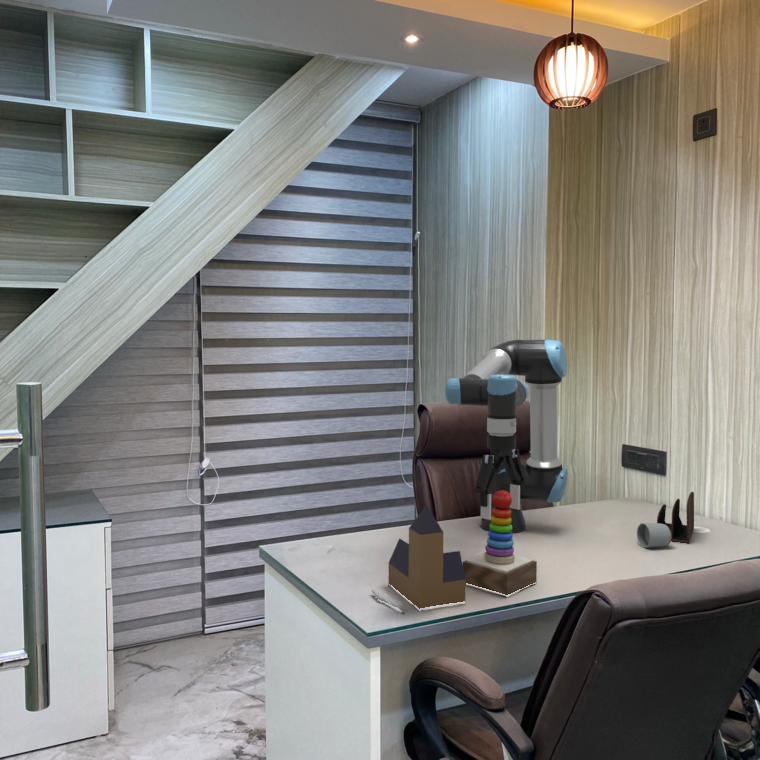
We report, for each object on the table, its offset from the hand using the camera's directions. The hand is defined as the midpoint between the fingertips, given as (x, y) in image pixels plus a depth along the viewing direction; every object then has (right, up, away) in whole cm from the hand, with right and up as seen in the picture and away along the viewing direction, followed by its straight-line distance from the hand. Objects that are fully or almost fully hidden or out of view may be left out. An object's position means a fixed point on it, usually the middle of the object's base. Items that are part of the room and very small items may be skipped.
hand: (500, 513), depth 188 cm
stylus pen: (-30, -20, -13) cm, 39 cm away
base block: (0, -19, +1) cm, 19 cm away
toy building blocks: (-20, -20, -7) cm, 29 cm away
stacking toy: (0, -13, +1) cm, 13 cm away
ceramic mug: (+53, -17, +36) cm, 66 cm away
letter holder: (+66, -16, +48) cm, 83 cm away
